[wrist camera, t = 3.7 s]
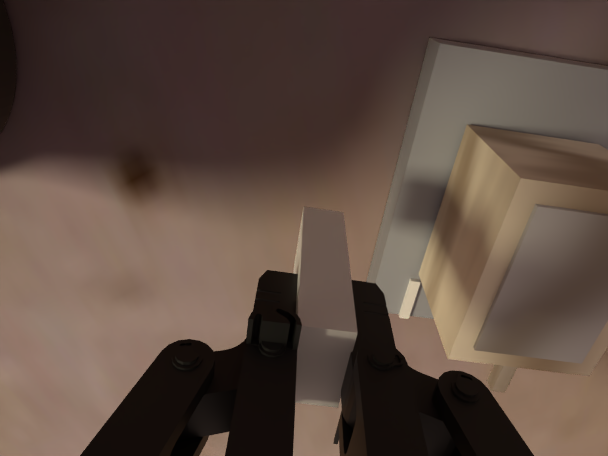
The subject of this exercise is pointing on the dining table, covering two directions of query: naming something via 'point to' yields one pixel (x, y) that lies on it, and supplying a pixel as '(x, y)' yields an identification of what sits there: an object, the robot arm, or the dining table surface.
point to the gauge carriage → (521, 255)
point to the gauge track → (449, 132)
